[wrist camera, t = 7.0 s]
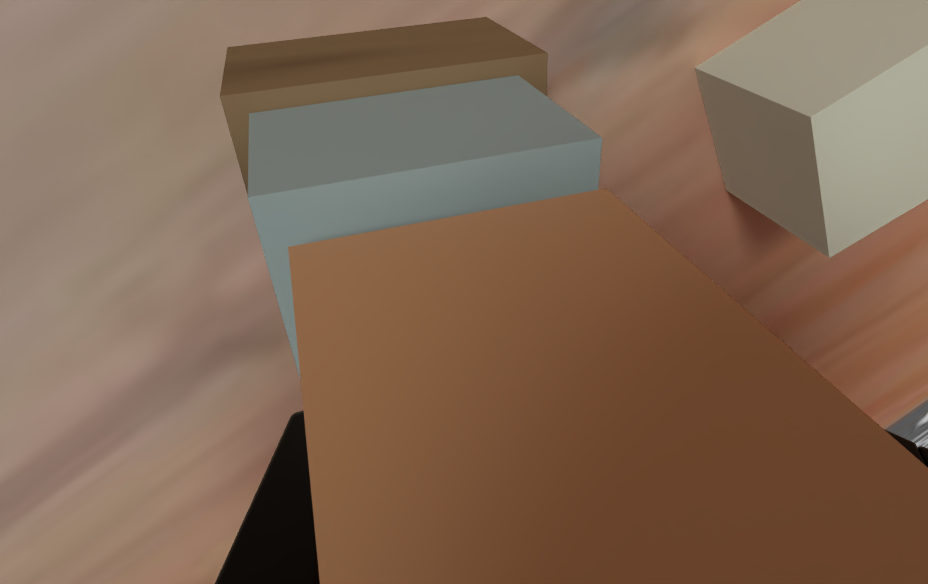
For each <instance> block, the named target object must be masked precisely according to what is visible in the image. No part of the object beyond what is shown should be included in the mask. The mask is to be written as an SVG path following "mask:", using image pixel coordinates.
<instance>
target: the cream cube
mask: <svg viewBox="0 0 928 584" xmlns="http://www.w3.org/2000/svg"><path fill="white" fill-rule="evenodd" d="M695 71H696V75H697V79H698V83H699V87H700V91H701V95H702V98H703V102H704V106H705V110H706V114H707V118H708V122H709V126H710V129H711V133H712V137H713V141H714V145H715V149H716V153H717V157H718V160H719V164H720V168H721V172H722V176H723V180H724V184H725V188H726V190H727V191H728V192H730V193H731V194H733V195H734V196H736V197H737V198H739V199H740V200H742V201H743V202H745V203H746V204H748V205H749V206H751V207H753V208H754V209H756V210H757V211H759V212H760V213H762V214H763V215H765V216H766V217H768V218H769V219H771V220H772V221H774V222H775V223H777V224H778V225H780V226H781V227H783V228H785V229H786V230H788V231H789V232H791V233H792V234H794V235H795V236H797V237H798V238H800V239H801V240H803V241H804V242H806V243H807V244H809V245H810V246H812V247H813V248H815V249H816V250H818V251H820V252H821V253H823V254H824V255H826V256H827V257H829V258H830V257H832V256H834V255H835V254H837V253H839V252H840V251H842V250H844V249H845V248H847V247H849V246H850V245H852V244H854V243H855V242H857V241H859V240H860V239H862V238H864V237H865V236H867V235H869V234H870V233H872V232H874V231H875V230H877V229H879V228H880V227H882V226H884V225H885V224H887V223H889V222H890V221H892V220H894V219H895V218H897V217H899V216H900V215H902V214H904V213H905V212H907V211H909V210H910V209H912V208H914V207H915V206H917V205H919V204H920V203H922V202H924V201H925V200H927V199H928V0H801V1H799V2H797V3H796V4H794V5H793V6H791V7H790V8H788V9H786V10H785V11H783V12H782V13H780V14H779V15H777V16H775V17H774V18H772V19H771V20H769V21H767V22H766V23H764V24H763V25H761V26H760V27H758V28H756V29H755V30H753V31H752V32H750V33H749V34H747V35H745V36H744V37H742V38H741V39H739V40H738V41H736V42H734V43H733V44H731V45H730V46H728V47H727V48H725V49H723V50H722V51H720V52H719V53H717V54H715V55H714V56H712V57H711V58H709V59H708V60H706V61H704V62H703V63H701V64H700V65H698V66H697V67H695Z"/></svg>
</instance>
